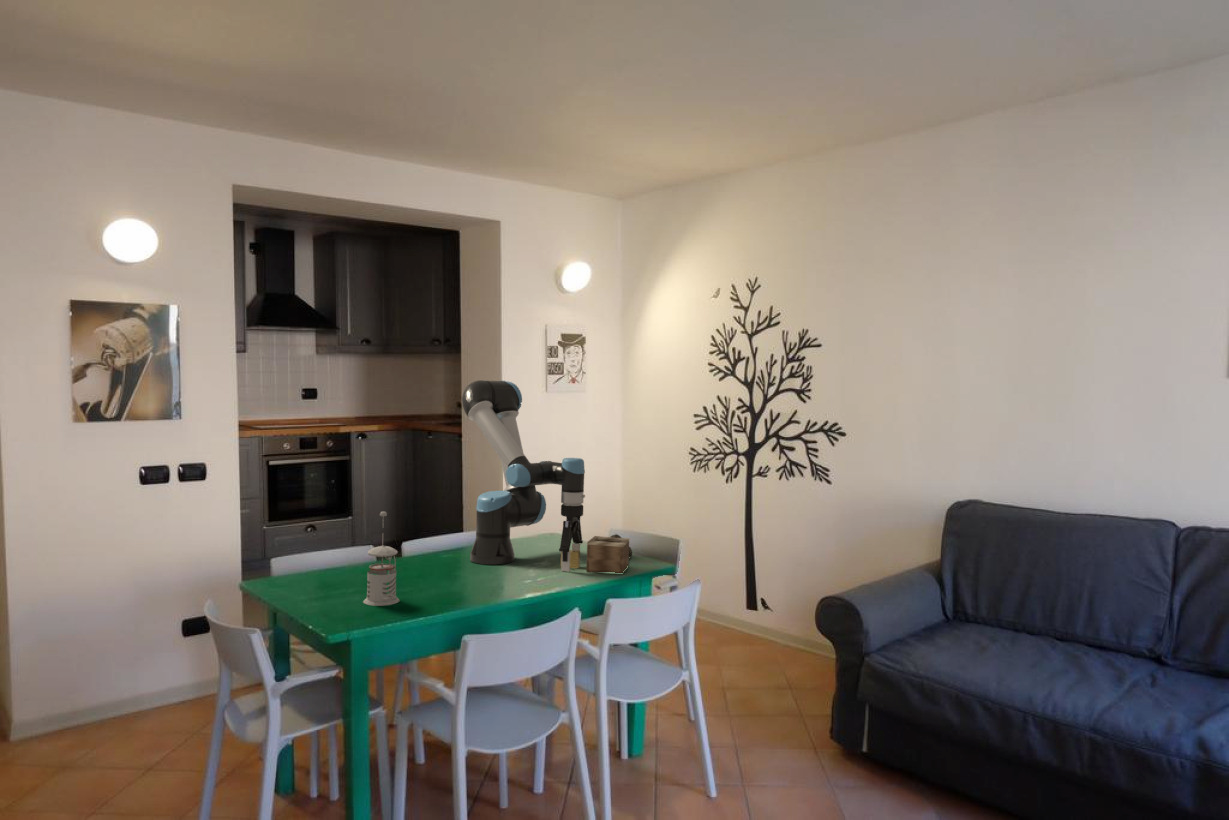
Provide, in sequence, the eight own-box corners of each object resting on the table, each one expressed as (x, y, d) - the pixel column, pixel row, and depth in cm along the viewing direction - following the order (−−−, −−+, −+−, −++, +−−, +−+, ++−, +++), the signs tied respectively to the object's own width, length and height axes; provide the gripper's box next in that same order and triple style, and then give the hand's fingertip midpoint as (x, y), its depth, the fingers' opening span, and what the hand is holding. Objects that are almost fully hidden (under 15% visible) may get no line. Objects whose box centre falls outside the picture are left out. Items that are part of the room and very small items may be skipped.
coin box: (586, 572, 271) (587, 542, 270) (593, 565, 281) (594, 536, 281) (622, 575, 268) (623, 544, 268) (628, 567, 279) (629, 538, 279)
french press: (356, 604, 225) (358, 513, 224) (376, 593, 236) (378, 507, 235) (390, 607, 223) (392, 515, 222) (408, 596, 234) (410, 509, 233)
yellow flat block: (560, 567, 277) (560, 551, 277) (562, 565, 279) (562, 549, 279) (577, 568, 276) (578, 552, 275) (579, 567, 278) (580, 550, 278)
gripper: (573, 509, 264) (572, 575, 264) (591, 499, 288) (590, 560, 289) (551, 508, 265) (549, 573, 266) (570, 498, 290) (569, 558, 290)
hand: (570, 566), depth 277 cm, fingers open, 13 cm apart
